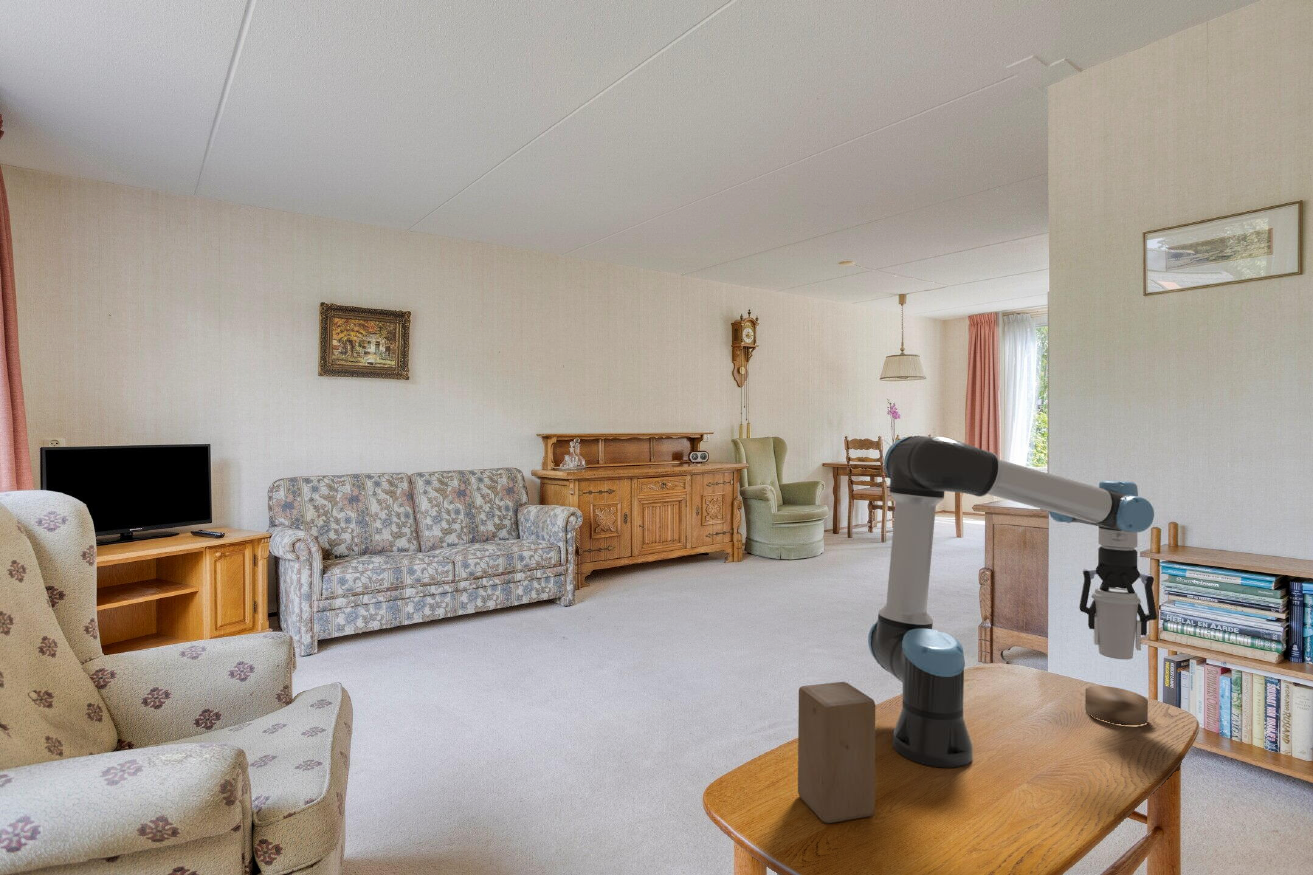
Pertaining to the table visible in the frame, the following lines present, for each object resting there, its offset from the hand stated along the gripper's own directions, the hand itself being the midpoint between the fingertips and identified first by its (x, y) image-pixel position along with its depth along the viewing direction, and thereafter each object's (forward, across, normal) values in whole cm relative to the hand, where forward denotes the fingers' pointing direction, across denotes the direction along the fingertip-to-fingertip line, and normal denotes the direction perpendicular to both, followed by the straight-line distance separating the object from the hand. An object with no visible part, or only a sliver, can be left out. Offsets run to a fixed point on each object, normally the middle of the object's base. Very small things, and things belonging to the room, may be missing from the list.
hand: (1116, 645), depth 158 cm
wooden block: (+16, -47, -71) cm, 87 cm away
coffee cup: (+2, 0, 0) cm, 2 cm away
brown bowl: (+17, 0, 0) cm, 17 cm away
